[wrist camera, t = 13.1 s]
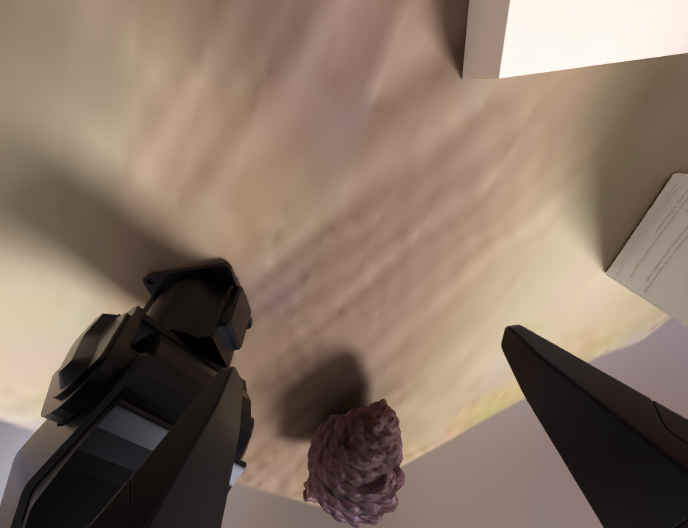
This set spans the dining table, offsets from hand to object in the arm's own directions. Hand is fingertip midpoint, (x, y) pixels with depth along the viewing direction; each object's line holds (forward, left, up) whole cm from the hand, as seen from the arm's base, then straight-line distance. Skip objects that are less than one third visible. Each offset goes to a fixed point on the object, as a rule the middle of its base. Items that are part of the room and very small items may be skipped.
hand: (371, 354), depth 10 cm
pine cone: (-2, -25, -13) cm, 29 cm away
